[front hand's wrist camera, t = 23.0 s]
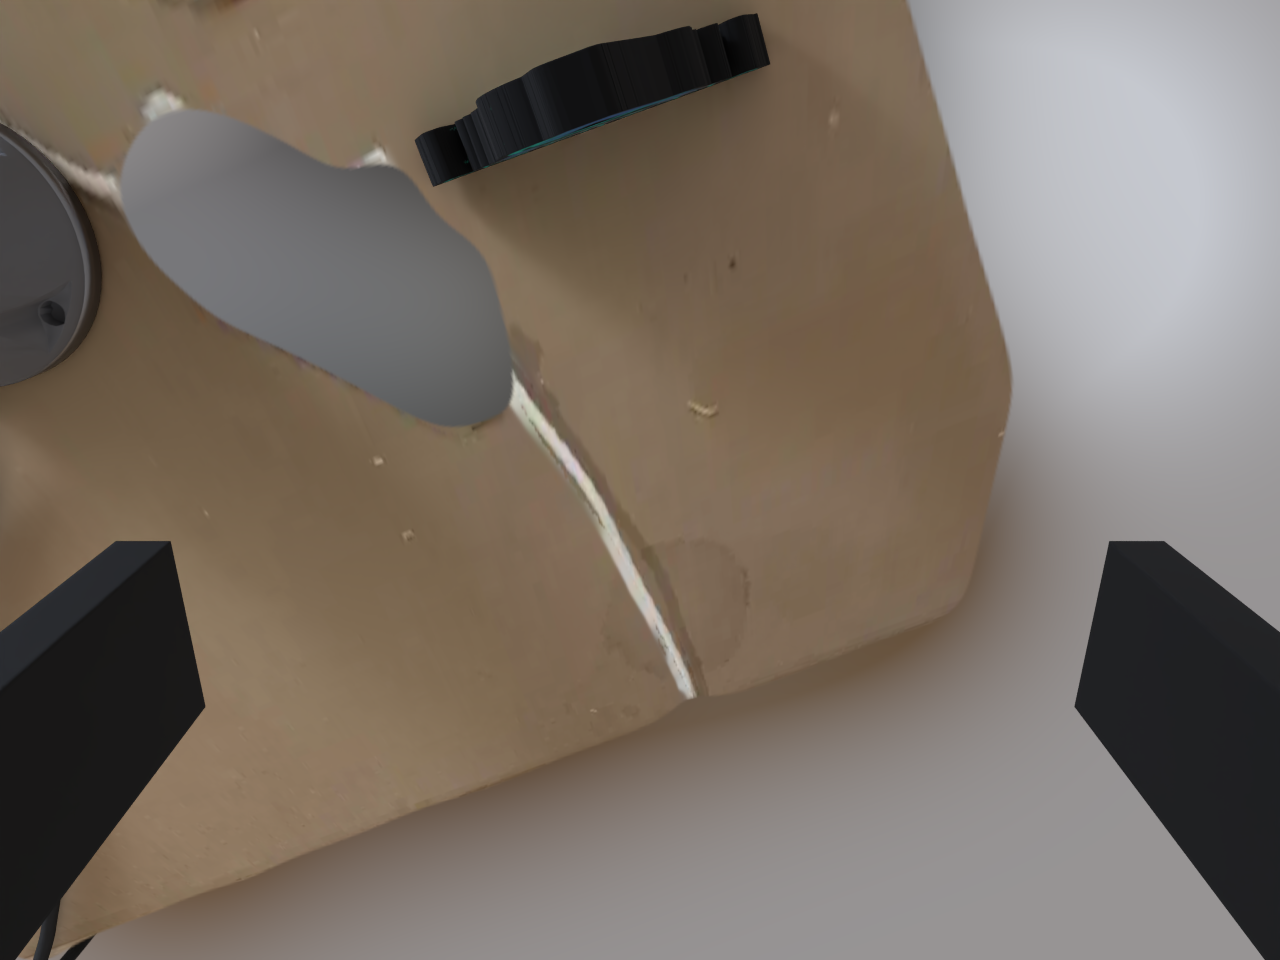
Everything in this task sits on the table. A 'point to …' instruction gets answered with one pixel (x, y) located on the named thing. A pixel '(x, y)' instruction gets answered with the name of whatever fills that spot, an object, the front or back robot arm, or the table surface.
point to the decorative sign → (591, 93)
